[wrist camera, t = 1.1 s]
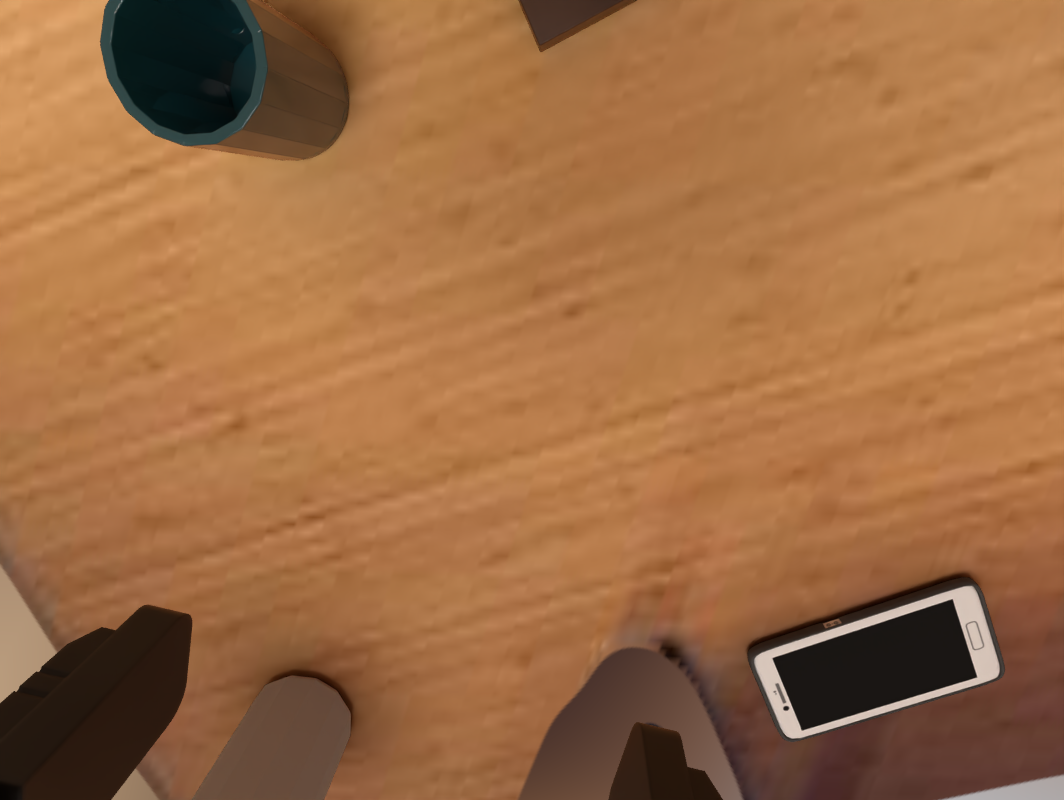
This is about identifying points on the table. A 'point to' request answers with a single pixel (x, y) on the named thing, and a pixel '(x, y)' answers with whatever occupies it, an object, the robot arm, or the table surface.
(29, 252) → the table surface
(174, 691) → the robot arm
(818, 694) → the cell phone
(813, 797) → the table surface
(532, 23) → the mug stand
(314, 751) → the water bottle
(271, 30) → the mug
